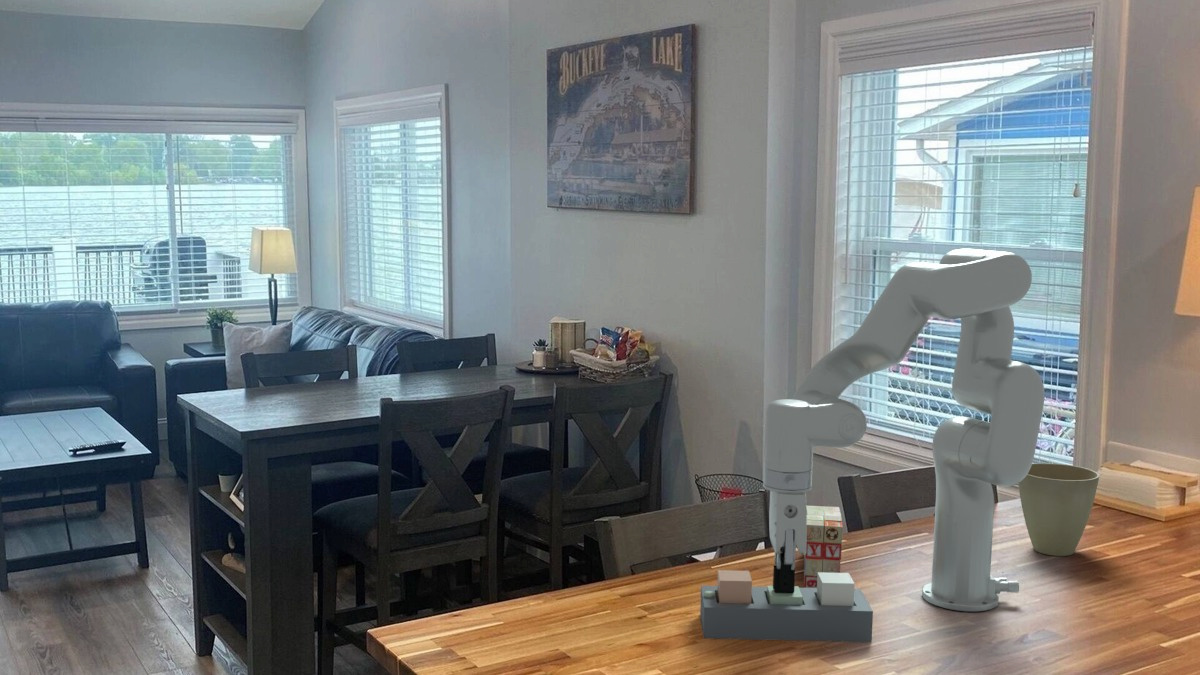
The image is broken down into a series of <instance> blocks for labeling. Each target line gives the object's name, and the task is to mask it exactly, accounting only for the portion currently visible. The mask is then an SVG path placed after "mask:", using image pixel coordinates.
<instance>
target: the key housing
mask: <svg viewBox="0 0 1200 675" xmlns="http://www.w3.org/2000/svg"><path fill="white" fill-rule="evenodd" d="M799 589H800V592H801V594H802V597H803V602H802V605H787V604H768V602H767V586H752V597H751V604H743V603H718V602H717V585H700V607H699V608H700V622H701V630H702V636H703V639H715V640H716V639H719V640H722V639H723V640H757V641H758V640H762V641H763V640H766V641H799V642H800V641H802V642H808V641H809V642H842V643H843V642H844V643H846V642H848V643H849V642H850V643H851V642H852V643H872V642H873V640H872V639H873V624H874V623H873V617H874V611H873V609H872V606H871V605H870V604H869V601H868V599H867V598H866V596H865V595H864V593H863V591H862V589H861V588H854V606H831V605H819V603H818V601H817V588H804V587H799Z"/></svg>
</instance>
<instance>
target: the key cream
mask: <svg viewBox="0 0 1200 675" xmlns="http://www.w3.org/2000/svg"><path fill="white" fill-rule="evenodd" d="M854 589H855V582H854V580H853V578H852V576H851V575H850V572H840V573H825V572H818V574H817V601H818V603H819V605H831V606H854Z"/></svg>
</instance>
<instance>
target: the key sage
mask: <svg viewBox="0 0 1200 675" xmlns="http://www.w3.org/2000/svg"><path fill="white" fill-rule="evenodd" d="M766 587H767V602H768V604H787V605H802V602H803V597H802V594H801V592H800V589H799V588H800V587H799V586H798V585H797V586H796V585H795V587H794V593H775V592H774V589H773V585H767V586H766Z"/></svg>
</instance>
